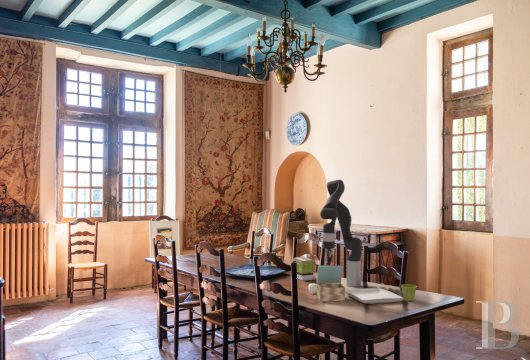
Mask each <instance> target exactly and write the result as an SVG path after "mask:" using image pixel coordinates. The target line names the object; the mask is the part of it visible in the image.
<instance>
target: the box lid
mask: <svg viewBox="0 0 530 360" xmlns="http://www.w3.org/2000/svg"><path fill="white" fill-rule="evenodd" d="M343 268H344V266H343V265H331V266H327V265H317V273H316V284H317V283H341V284H342V276H343V270H344V269H343Z"/></svg>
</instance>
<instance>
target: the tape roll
mask: <svg viewBox="0 0 530 360" xmlns="http://www.w3.org/2000/svg"><path fill="white" fill-rule="evenodd" d="M308 294H310V295H317V283H309V284H308Z"/></svg>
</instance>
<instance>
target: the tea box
mask: <svg viewBox="0 0 530 360" xmlns="http://www.w3.org/2000/svg"><path fill="white" fill-rule="evenodd" d="M293 261H296V262H297V278H298V279H297V278H296V279H297V280H301V281H302V282H303V281H312V280H313V281H314V259H311V258H307V257H306V256H301V257H300V256H299V257H292V262H293Z"/></svg>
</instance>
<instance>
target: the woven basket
mask: <svg viewBox="0 0 530 360" xmlns="http://www.w3.org/2000/svg"><path fill="white" fill-rule="evenodd" d="M316 284H317V294H316V297H317V299H318V301H319V303H321V302H328V303H330V302H331V301H340V302H346V293H345V290H346V288H345V286H344V285H343V284H342V282H341V283H317V282H316Z"/></svg>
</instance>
